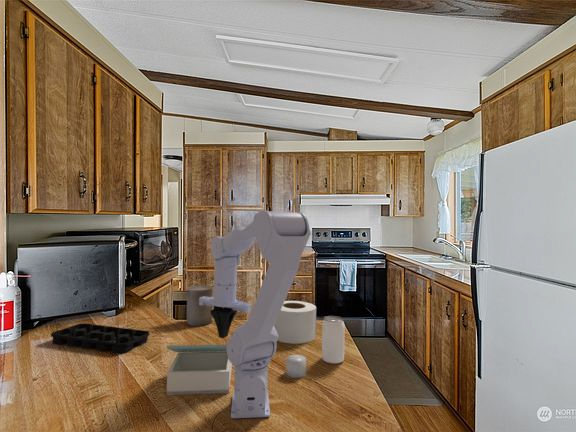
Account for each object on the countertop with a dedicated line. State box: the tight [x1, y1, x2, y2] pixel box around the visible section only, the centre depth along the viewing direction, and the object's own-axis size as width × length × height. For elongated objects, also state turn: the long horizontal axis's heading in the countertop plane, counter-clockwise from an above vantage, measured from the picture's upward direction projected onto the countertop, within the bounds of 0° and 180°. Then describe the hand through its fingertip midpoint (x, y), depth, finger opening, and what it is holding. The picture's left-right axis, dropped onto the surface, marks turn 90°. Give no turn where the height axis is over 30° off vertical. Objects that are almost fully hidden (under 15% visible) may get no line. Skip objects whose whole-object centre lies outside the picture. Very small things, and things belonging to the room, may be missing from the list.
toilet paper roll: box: [274, 300, 317, 345], centre depth 117 cm, size 16×15×11 cm
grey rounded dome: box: [285, 354, 307, 379], centre depth 88 cm, size 5×5×4 cm
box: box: [166, 351, 233, 396], centre depth 83 cm, size 12×14×5 cm
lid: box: [166, 344, 227, 353], centre depth 83 cm, size 12×15×1 cm
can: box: [321, 315, 346, 365], centre depth 98 cm, size 6×6×12 cm
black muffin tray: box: [50, 323, 150, 355], centre depth 107 cm, size 18×30×4 cm, turn 87°
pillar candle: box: [186, 284, 213, 327], centre depth 130 cm, size 10×10×15 cm
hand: (223, 336), depth 85 cm, fingers closed
